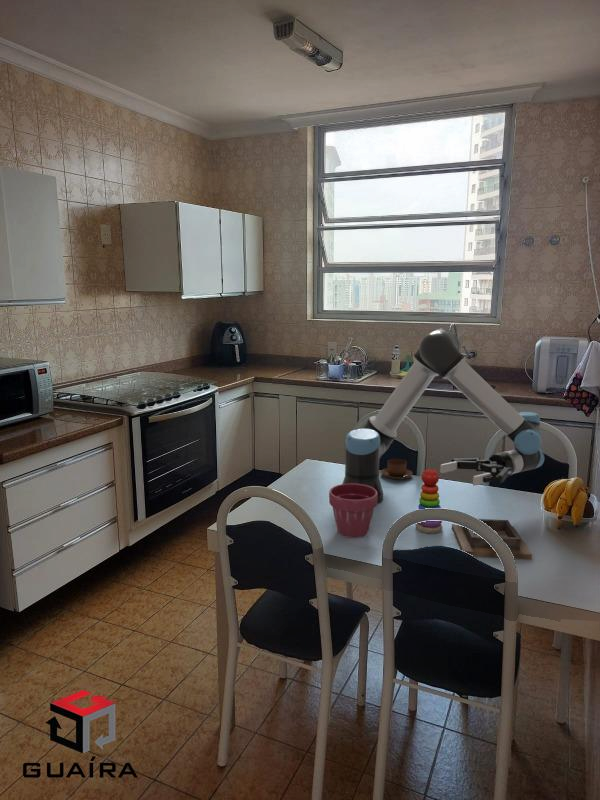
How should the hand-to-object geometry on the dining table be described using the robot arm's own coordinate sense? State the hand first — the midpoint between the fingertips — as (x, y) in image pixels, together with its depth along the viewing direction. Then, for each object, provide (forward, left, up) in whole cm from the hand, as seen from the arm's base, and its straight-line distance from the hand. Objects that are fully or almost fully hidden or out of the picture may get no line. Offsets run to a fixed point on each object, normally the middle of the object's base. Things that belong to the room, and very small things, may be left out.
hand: (456, 474), depth 169 cm
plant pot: (-31, -9, -16) cm, 36 cm away
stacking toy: (-8, -6, -16) cm, 19 cm away
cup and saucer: (-14, +43, -16) cm, 48 cm away
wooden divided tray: (+8, -14, -16) cm, 22 cm away
